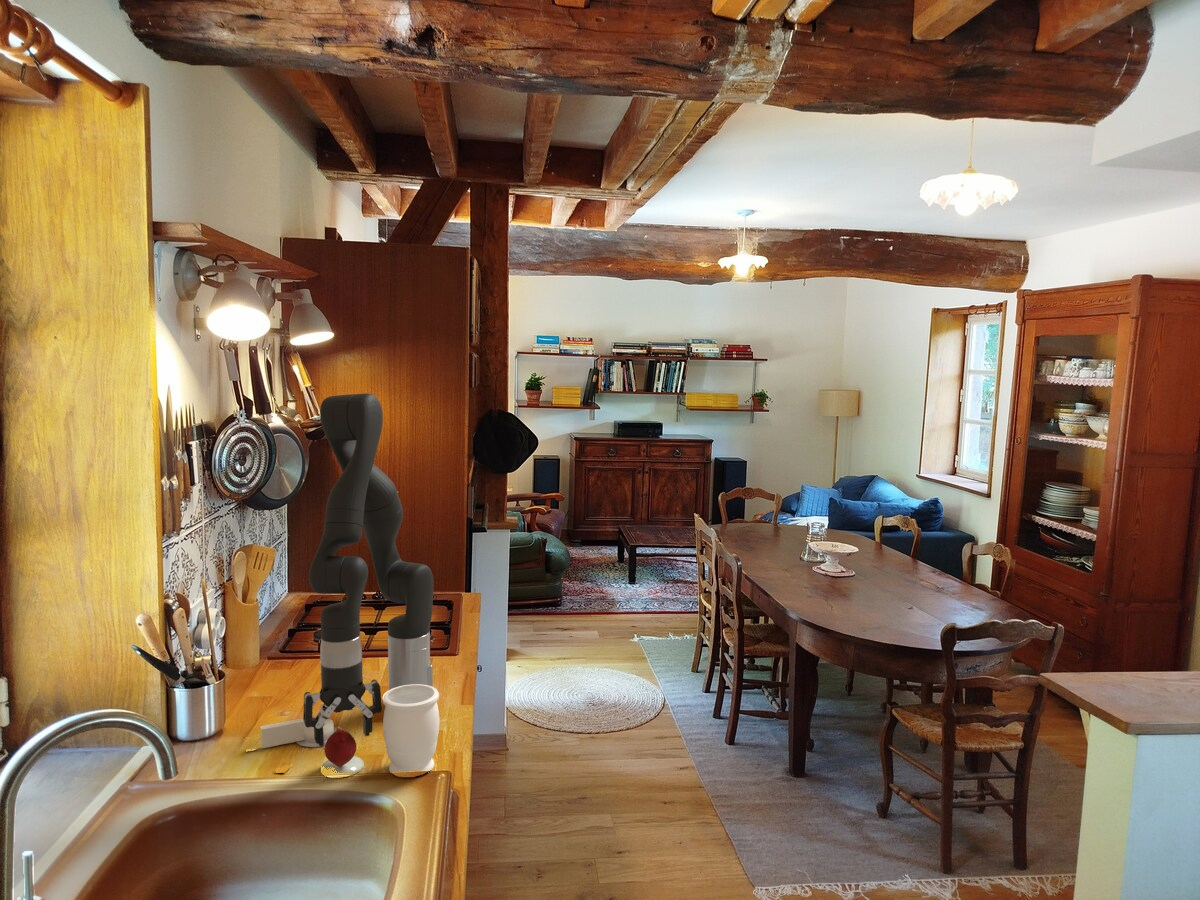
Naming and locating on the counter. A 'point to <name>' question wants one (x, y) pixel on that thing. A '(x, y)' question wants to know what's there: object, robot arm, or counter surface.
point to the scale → (308, 743)
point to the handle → (292, 732)
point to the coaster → (346, 766)
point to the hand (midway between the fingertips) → (344, 739)
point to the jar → (411, 727)
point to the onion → (340, 747)
